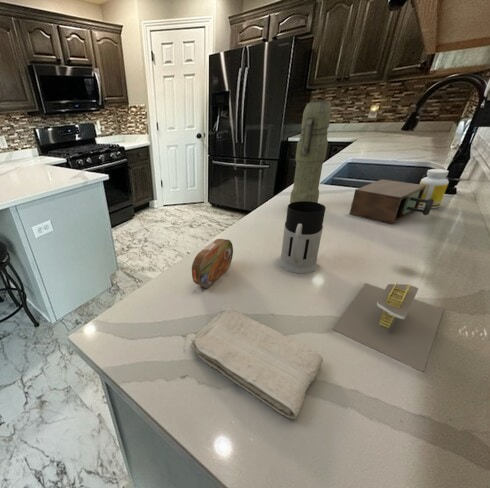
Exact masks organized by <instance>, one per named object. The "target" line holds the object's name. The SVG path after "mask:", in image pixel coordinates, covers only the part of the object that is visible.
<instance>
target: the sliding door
mask: <svg viewBox="0 0 490 488" xmlns="http://www.w3.org/2000/svg"><path fill="white" fill-rule="evenodd" d="M419 193H420V191H419V192H417V193H415V194H413V195H410V196H408V197H407V199H406V202H405V205H404V208H403V210H402V213H401V214H403V215H404V214H406V213H407V212H409V211H416V212H417V213H421V214H422V215H424V216H428V215H429V214H430V212H431V210H432V209H433V208H432V205H433V202H434V200H433V199H428V200H425V199H420V198H418V196H419ZM416 201H417V202H423V203H426V205H425V208H419V207H418V208H414V207H415V204H416ZM416 212H415V213H416Z"/></svg>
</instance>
